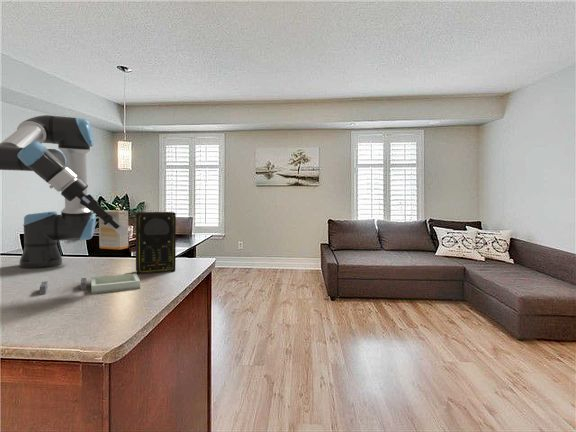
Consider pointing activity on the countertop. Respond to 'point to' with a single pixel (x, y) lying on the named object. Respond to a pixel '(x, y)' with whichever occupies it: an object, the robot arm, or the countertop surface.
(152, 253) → the voltmeter
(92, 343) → the countertop surface
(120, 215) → the supplement box
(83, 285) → the grey small blocks
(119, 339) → the countertop surface
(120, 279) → the tray
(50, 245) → the robot arm
